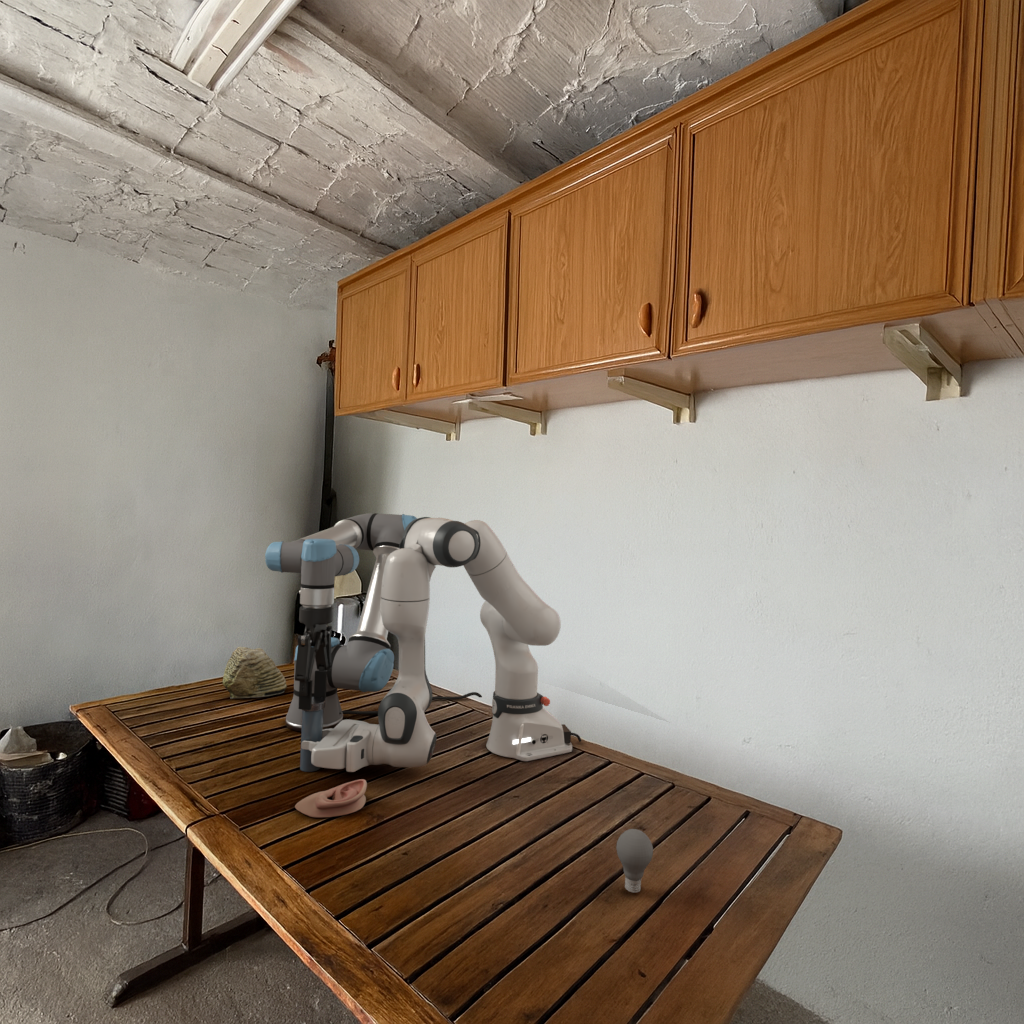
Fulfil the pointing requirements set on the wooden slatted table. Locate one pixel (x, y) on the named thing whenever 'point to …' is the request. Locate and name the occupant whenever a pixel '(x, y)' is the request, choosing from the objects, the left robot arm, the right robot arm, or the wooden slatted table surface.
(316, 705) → the lid
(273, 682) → the fossil
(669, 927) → the wooden slatted table surface
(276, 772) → the wooden slatted table surface
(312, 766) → the jar
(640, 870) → the light bulb
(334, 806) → the anatomical model
